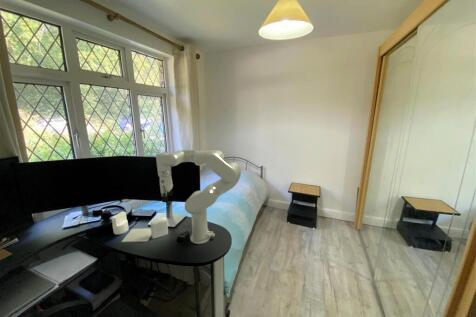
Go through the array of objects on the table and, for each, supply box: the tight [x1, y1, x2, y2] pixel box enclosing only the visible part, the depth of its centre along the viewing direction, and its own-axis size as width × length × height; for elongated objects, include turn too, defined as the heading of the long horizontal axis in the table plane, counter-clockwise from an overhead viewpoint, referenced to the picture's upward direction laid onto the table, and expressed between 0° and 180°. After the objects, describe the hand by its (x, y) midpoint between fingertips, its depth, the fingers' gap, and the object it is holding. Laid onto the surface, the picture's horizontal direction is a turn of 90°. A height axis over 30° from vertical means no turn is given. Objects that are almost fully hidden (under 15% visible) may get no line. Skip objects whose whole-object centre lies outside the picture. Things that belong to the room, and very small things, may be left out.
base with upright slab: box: [111, 211, 130, 235], centre depth 135 cm, size 9×9×12 cm
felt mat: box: [121, 227, 152, 243], centre depth 131 cm, size 16×14×1 cm
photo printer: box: [150, 216, 169, 240], centre depth 129 cm, size 10×4×12 cm, turn 123°
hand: (167, 198), depth 125 cm, fingers open, 9 cm apart
